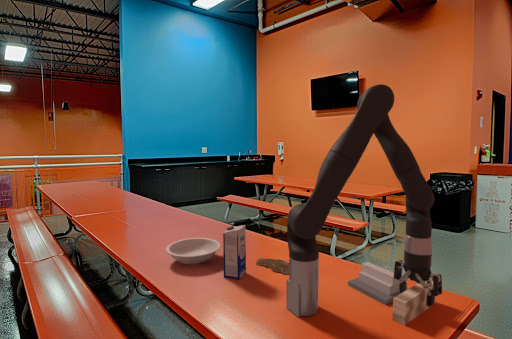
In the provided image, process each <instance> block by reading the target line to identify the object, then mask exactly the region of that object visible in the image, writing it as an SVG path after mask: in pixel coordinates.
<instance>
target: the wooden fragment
mask: <svg viewBox="0 0 512 339" xmlns="http://www.w3.org/2000/svg"><path fill="white" fill-rule="evenodd" d="M255 264H256V266H261V267H265V268H269V269H270V270H271V271H273V272H276V273H281V274H283V275H285V276H289V262H288V261H286V260H281V259H273V258H264V257H259V258H258V259H257V260H256V262H255Z"/></svg>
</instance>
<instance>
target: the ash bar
mask: <svg viewBox="0 0 512 339" xmlns="http://www.w3.org/2000/svg"><path fill="white" fill-rule="evenodd" d="M431 282H432V284H433V281H432V280H431ZM425 283H426V284H427V282H425ZM408 288H409V287H408ZM426 299H427V292H426V290H425V289H424V288H423V287H422V285H421V283H420V284H419V283H416V284H414V285H413V286H411V287H410V288H409V289H408V290H406V291H404V292H403V293H401V294H399V295H398V296H396V297H394V298H393V302H392V321H394V322H396V323H398V324H400V325H402V326H405V325H407V324H409V323H410V322H411V321H413V320H414V319H416V318H417V317H418V316H420V315H422V314H423V313H424V312H425V311H426V310H428V309H429V308H430V307H432V306H430V307H428V306H426ZM436 299H437V296H435V301H434V305H435V304H436V302H437V300H436Z"/></svg>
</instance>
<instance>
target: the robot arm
mask: <svg viewBox="0 0 512 339" xmlns="http://www.w3.org/2000/svg"><path fill="white" fill-rule="evenodd" d="M394 103H395V94H394V91H393V89H392V88H391V87H390V86H388V85H387V84H380V83H378V84H375V85H373V86H371V87H368V88H367V89H366V90H364V92H363V93H362V94H361V95H360V96H359V98H358V100H357V102H356V105H357V110H356V111H355V114H354V116H353V118H352V120H351V121H350V123H349V124H348V125H347V126H346V128H345V129H343V131H342V133H340V135H339V136H338V138H337V139H336V140H335V142H334V143H333V145H332V146H331V148H330V149H329V150H328V152H327V154H326V156H325V157H324V159H323V161H322V163H321V165H320V168H319V171H318V175H317V178H316V183H315V187H314V189H313V191H312V193H311V194H310V196H309V198H308V199H307V201H306V202H305V203H298V204H296V205H294V206H292V207H291V208H290V210H289V211H288V214H287V219H286V220H287V221H286V222H287V223H286V236H287V247H288V248H287V249H288V263H289V275H288V279H286V289H285V291H286V292H285V293H286V295H285V296H286V299H285V300H286V303H285V304H286V306H285V308H286V309H287V310H289V311H290V312H291V313H292V314H294V315H295V316H296V317H298V318H299V317H310V316H314V315H317V313H318V312H319V280H320V279H319V274H320V269H319V267H320V266H319V265H320V264H319V263H320V260H319V259H320V256H319V255H320V250H319V246H318V242H317V237H316V236H317V235H318V234H320V232H321V231H322V229H323V227H324V225H325V223H326V220H327V219H328V217H329V214H330V212H331V210H332V207H333V205H335V202H336V200H337V198H338V197H339V195H340V193H341V192H342V190H343V189H344V187H345V185H346V184H347V182H348V180H349V179H350V177H351V175H352V174H353V172H354V170H355V169H356V167H357V165H358V164H359V162H360V160H361V159H362V156H363V154H364V152H365V151H366V148H367V147H368V145H369V143H370V141H371V138H372V137H373V135H374V137H375V138H376V139H377V141H378V144H379V145H380V147H381V149H382V151H383V152H384V154H385V157H386V158H387V161H388V162H389V164H390V167H391V169H392V171H393V173H394V175H395V177H396V179H397V180H398V182H399V183H400V185H401V188H402V190H403V192H404V195H405V213H406V220H405V236H404V241H403V242H404V243H403V245H404V246H403V260H402V259H399V260H396V261H395V262H394V268H393V273H394V278H395V279H397V280H398V281H399V290H400V293H403V292H404V291H406V290H407V288H408V287H407V286H408V283H407V281H408V280H410V281H412V282H415V283H416V284H418V283H419V284H420V283H421V285H422V287H423V288H424V289H425V290H426V292H427V299H426V306H428V307H429V308H430V306H431V307H432V306H434V305H435V304H434V301H435V296H436V297H439V296H440V295H442V294H443V275H442V274H440V273H438V274H437V273H432V270H431V267H432V258H433V257H432V252H433V242H432V229H433V227H432V226H433V225H432V218H431V216H430V213H431V208H432V207H433V205H434V203H435V194H434V192H433V190H432V189H431V187H430V185H429V183H428V182H427V180H426V178H425V176H424V175H423V173H422V171H421V168H420V166H419V163H418V161H417V159H416V157H415V155H414V153H413V152H412V149H411V148H410V146H409V145H408V143H407V142H406V141H405V139H403V138H402V136H401V135H400V134H399V132H397V130H396V129H395V126H394V125H393V123H392V121H391V119H390V116H389V114H390V111H391V110H392V109H393V107H394ZM403 270H404V274H403V275H402V273H403ZM431 281H432V282H433V284H432V282H431ZM425 282H427V284H426V283H425Z"/></svg>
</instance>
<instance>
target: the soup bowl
mask: <svg viewBox="0 0 512 339" xmlns="http://www.w3.org/2000/svg"><path fill="white" fill-rule="evenodd" d="M221 247H222V244H221V243H220V242H219V241H218V240H216V239H213V238H209V237H208V238H207V237H190V238H189V237H188V238H183V239H180V240H176V241H174V242H171V243H170V244H168V245H167V246H166V247H165V252H166V253H167V254H168V255H170V256H171V257H172V259H173V260H175V261H176V262H178V263H181V264H184V265H185V264H186V265H196V264H201V263H204V262H207V261H208V260H210V259H211V258H213V257H214V255H215V254H216V252H218V251H220V249H221Z"/></svg>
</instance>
